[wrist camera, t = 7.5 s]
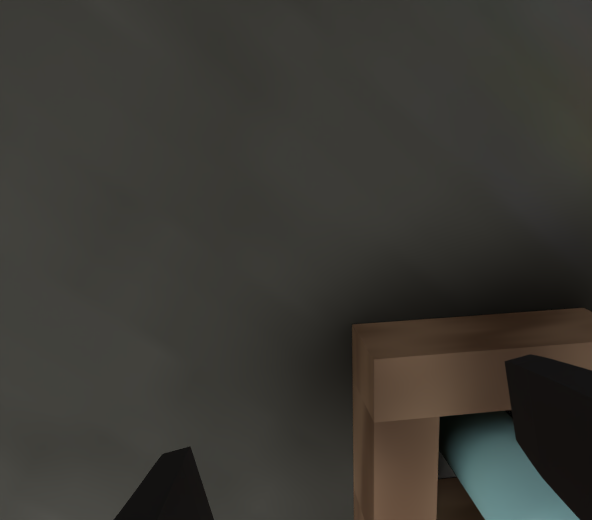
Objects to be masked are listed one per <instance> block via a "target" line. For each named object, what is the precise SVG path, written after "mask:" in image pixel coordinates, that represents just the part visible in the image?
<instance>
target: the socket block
mask: <svg viewBox="0 0 592 520" xmlns="http://www.w3.org/2000/svg"><path fill="white" fill-rule="evenodd" d="M529 354H532V355H537V356H542V357H546V358H550V359H554V360H557V361H561V362H564V363H568V364H571V365H575V366H578V367H582V368H585V369H588V370H592V312H591V311H589V310H587V309H585V308H573V309H559V310H545V311H531V312H518V313H504V314H490V315H476V316H462V317H448V318H434V319H420V320H407V321H393V322H379V323H365V324H352V367H353V471H354V520H485V519H484V517H483V516H482V514H481V513H480V511H479V510H478V508H477V507H476V505H475V504H474V502H473V500H472V499H471V497H470V496H469V494H468V493H467V491H466V490H465V488H464V487H463V485H462V484H461V482H460V481H459V479H458V478H457V477H456V478H446V479H438V451H439V420H440V417H441V416H452V415H463V414H474V413H484V412H495V411H506V410H511V403H510V396H509V389H508V382H507V375H506V368H505V362H504V361H507V360H511V359H515V358H518V357H522V356H526V355H529Z"/></svg>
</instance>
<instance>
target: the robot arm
mask: <svg viewBox="0 0 592 520" xmlns="http://www.w3.org/2000/svg"><path fill="white" fill-rule="evenodd" d="M504 362H505V368H506V375H507V382H508V389H509V396H510V403H511V410H512V417H513V424H514V431H515V438H516V441H517V442H518V444H519V445H520V447H521V448H522V450H523V451H524V453H525V454H526V456H527V457H528V459H529V460H530V462H531V463H532V465H533V466H534V467H535V469H536V470H537V472H538V473H539V474H540V476H541V477H542V478H543V479H544V481H545V482H546V483H547V484H548V485H549V486H550V487H551V488H552V490H553V491H554V492H555V493H556V494H557V495H558V496H559V497H560V498H561V500H562V501H563V502H564V503H565V504H566V505H567V506H568V507H569V508H570V510H571V511H572V512H573V513H574V514H575V515H576V516H577V517H578V518H579V519H580V520H592V370H588V369H585V368H582V367H578V366H575V365H571V364H568V363H564V362H561V361H557V360H554V359H550V358H546V357H542V356H537V355H532V354H529V355H526V356H522V357H518V358H515V359H511V360H507V361H504ZM114 520H214V519H213V516H212V512H211V509H210V506H209V503H208V500H207V497H206V494H205V491H204V487H203V484H202V481H201V478H200V475H199V472H198V469H197V466H196V462H195V459H194V456H193V453H192V450H191V447H187V448H183V449H179V450H176V451H172V452H168V453H165V454H163V455H162V456H161V457H160V458H159V459H158V461H157V462H156V463H155V465H154V466H153V467H152V469H151V470H150V472H149V473H148V474H147V476H146V477H145V479H144V480H143V481H142V483H141V484H140V485H139V487H138V488H137V490H136V491H135V492H134V494H133V495H132V496H131V498H130V499H129V500H128V502H127V503H126V504H125V506H124V507H123V508H122V510H121V511H120V512H119V514H118V515H117V516H116V518H115V519H114Z"/></svg>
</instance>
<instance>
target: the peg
mask: <svg viewBox="0 0 592 520" xmlns="http://www.w3.org/2000/svg"><path fill="white" fill-rule="evenodd" d="M439 450H440V452H441V453H442V455H443V456H444V458H445V459H446V461H447V462H448V464H449V465H450V467H451V468H452V470H453V472H454V473H455V475H456V476H457V478H458V479H459V481H460V482H461V484H462V485H463V487H464V488H465V490H466V491H467V493H468V494H469V496H470V497H471V499H472V500H473V502H474V504H475V505H476V507H477V508H478V510H479V511H480V513H481V514H482V516H483V517H484V519H485V520H580V519H579V518H578V517H577V516H576V515H575V514H574V513H573V512H572V511H571V510H570V508H569V507H568V506H567V505H566V504H565V503H564V502H563V501H562V500H561V498H560V497H559V496H558V495H557V494H556V493H555V492H554V491H553V490H552V488H551V487H550V486H549V485H548V484H547V483H546V482H545V481H544V479H543V478H542V477H541V476H540V474H539V473H538V472H537V470H536V469H535V467H534V466H533V465H532V463H531V462H530V460H529V459H528V457H527V456H526V454H525V453H524V451H523V450H522V448H521V447H520V445H519V444H518V442H517V441H516V438H515V431H514V424H513V419H512V418H511V417H510V415H509V414H508V413H507V412H506V411H495V412H484V413H474V414H463V415H452V416H441V417H440V420H439Z"/></svg>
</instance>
